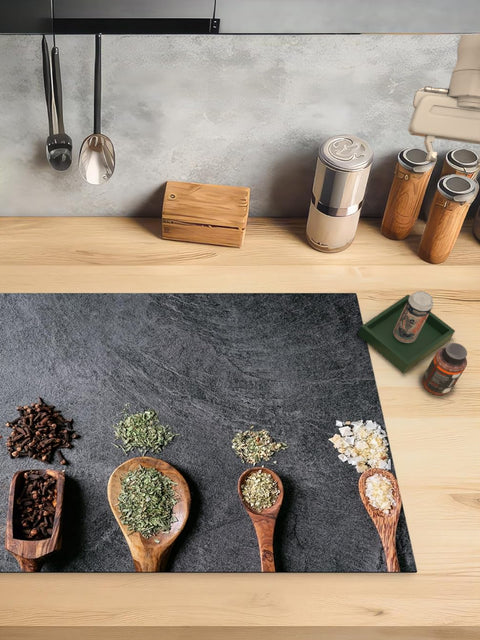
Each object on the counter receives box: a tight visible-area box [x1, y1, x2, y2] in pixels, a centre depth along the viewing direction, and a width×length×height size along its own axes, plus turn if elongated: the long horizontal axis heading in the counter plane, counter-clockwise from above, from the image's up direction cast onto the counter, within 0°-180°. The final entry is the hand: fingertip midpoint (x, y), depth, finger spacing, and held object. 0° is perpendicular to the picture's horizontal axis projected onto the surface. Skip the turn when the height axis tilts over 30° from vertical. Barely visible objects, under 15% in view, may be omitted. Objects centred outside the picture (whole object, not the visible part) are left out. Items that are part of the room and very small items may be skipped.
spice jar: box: [393, 290, 434, 343], centre depth 150 cm, size 5×5×12 cm
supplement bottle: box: [422, 342, 468, 396], centre depth 144 cm, size 6×6×11 cm
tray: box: [357, 294, 456, 374], centre depth 154 cm, size 15×13×3 cm
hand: (455, 164), depth 143 cm, fingers open, 8 cm apart
